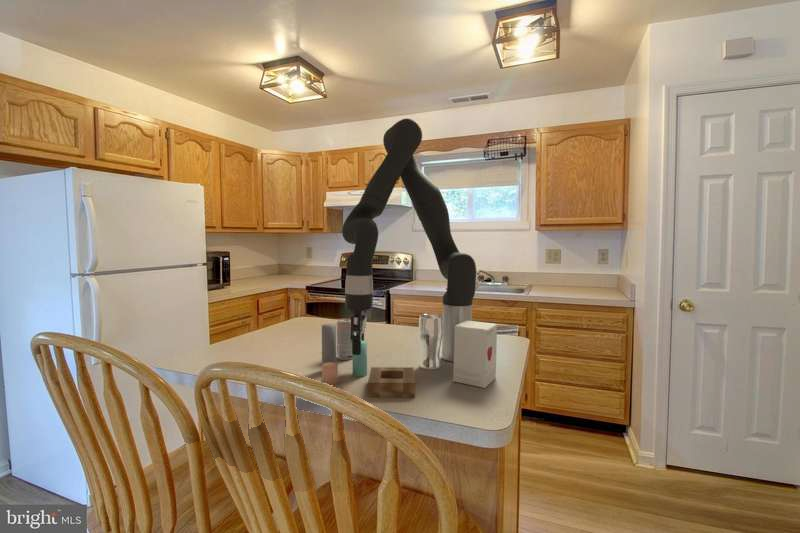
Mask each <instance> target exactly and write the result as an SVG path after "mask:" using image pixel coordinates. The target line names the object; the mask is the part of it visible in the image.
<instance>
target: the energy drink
mask: <svg viewBox="0 0 800 533" xmlns="http://www.w3.org/2000/svg"><path fill="white" fill-rule="evenodd" d="M350 337H351V318H340V319H337V322H336V359H338V360H339V361H350V360H353V354H352V340H351V339H350Z"/></svg>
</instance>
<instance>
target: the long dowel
mask: <svg viewBox="0 0 800 533" xmlns="http://www.w3.org/2000/svg"><path fill="white" fill-rule="evenodd" d="M328 362H334V363H337V324H335V323H324V324H322V325H321V365H322V364H324V363H328Z"/></svg>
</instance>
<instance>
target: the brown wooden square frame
mask: <svg viewBox="0 0 800 533" xmlns="http://www.w3.org/2000/svg"><path fill="white" fill-rule="evenodd" d="M367 380H368V381H367V398H416V390H415V389H416V382H415V372H414V367H410V366H409V367H403V366H402V367H399V366H398V367H394V366H391V367H389V366H387V367H384V366H382V367H381V366H379V367H378V366H377V367H375V366H371V367H370V372H369V377H368V379H367Z"/></svg>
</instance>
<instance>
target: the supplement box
mask: <svg viewBox="0 0 800 533" xmlns="http://www.w3.org/2000/svg"><path fill="white" fill-rule="evenodd" d="M497 333H498V323H493V322H483V321H476V320H475V321H474V320H472V321H468V320H467V321H465V322H463V323H460V324H458V325H456V326H455V330H454V362H453V369H452V370H453V374H452V376H453V378H452V381H453V382H456V383H459V384H460V383H461V384H464V385H468V386H469V385H470V386H475V387H477V388H483V389H486V388H487V387H488V386H489V385H490V384H491V383H493V381H494V380H495V379H496V378H497V376H496V375H497V340H498V338H497V337H498V334H497Z"/></svg>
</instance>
